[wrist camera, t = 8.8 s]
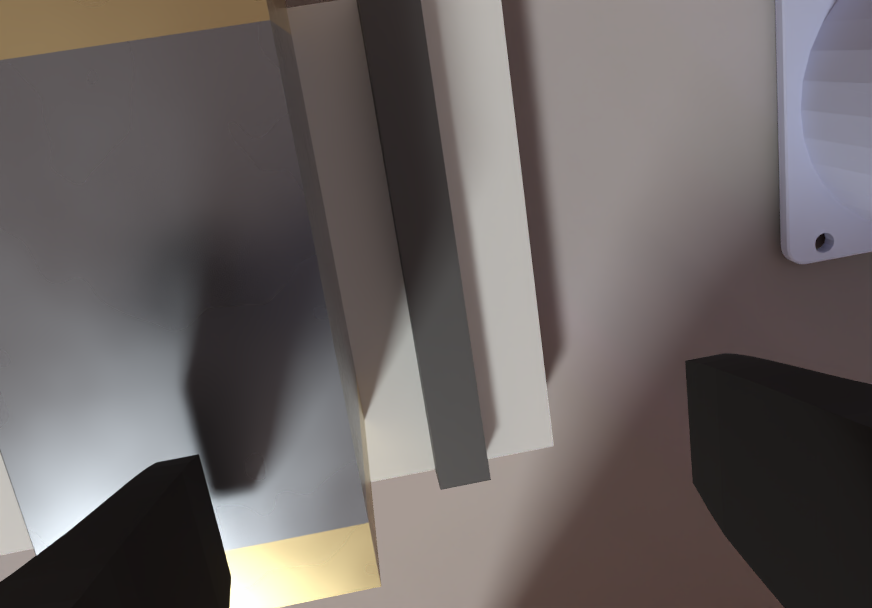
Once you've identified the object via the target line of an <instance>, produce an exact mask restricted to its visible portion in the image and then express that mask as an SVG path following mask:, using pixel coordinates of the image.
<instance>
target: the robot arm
mask: <svg viewBox="0 0 872 608" xmlns="http://www.w3.org/2000/svg"><path fill="white" fill-rule="evenodd" d="M775 10H776V54H777V98H778V142H779V187H780V231H781V249H782V253H783V255H784V256H785V257H786V259H788V260H791V261H793V262H795V263H797V264H809V263H814V262H820V261H825V260H831V259H836V258H842V257H847V256H852V255H858V254H863V253H869V252H872V0H775ZM823 233H824V234H825V242H824V244H823V245H822V246H821V247H820V248H818V249H816V247H815V241H816V239H817V237H818V236H819V235H821V234H823ZM685 363H686V379H687V396H688V412H689V428H690V444H691V461H692V477H693V484H694V485H695V487H696V489H697V491H698V492H699V494H700V496H701V497H702V499H703V501H704V503H705V504H706V506H707V508H708V510H709V511H710V513H711V514H712V516H713V518H714V519H715V521H716V522H717V524H718V526H719V527H720V529H721V530H722V532H723V533H724V535H725V536H726V537H727V539H728V540H729V541H730V542H731V544H732V545H733V546H734V547H735V549H736V550H737V551H738V552H739V554H740V555H741V556H742V557H743V558H744V560H745V561H746V562H747V563H748V564H749V566H750V567H751V568H752V569H753V571H754V572H755V573H756V574H757V575H758V577H759V578H760V579H761V580H762V581H763V583H764V584H765V585H766V586H767V587H768V588H769V590H770V591H771V592H772V593H773V594H774V596H775V597H776V598H777V599H778V600H779V602H780V603H781V604H782V605H783V606H784V608H872V385H871V384H867V383H862V382H858V381H853V380H849V379H845V378H840V377H836V376H832V375H828V374H824V373H820V372H816V371H812V370H807V369H803V368H799V367H795V366H791V365H787V364H783V363H779V362H774V361H770V360H765V359H760V358H756V357H751V356H745V355H738V354H719V355H714V356H709V357H704V358H698V359H693V360H688V361H685ZM230 593H231V573H230V569H229V566H228V562H227V558H226V554H225V551H224V547H223V543H222V539H221V535H220V532H219V528H218V524H217V520H216V517H215V513H214V509H213V505H212V501H211V498H210V494H209V490H208V486H207V483H206V479H205V475H204V471H203V467H202V464H201V460H200V456H199V454H197V455H192V456H187V457H182V458H177V459H171V460H166V461H161V462H156V463H154V464H152V465H151V466H149V467H147V468H146V469H145V470H143V471H142V472H140V473H139V474H138V475H136V476H135V477H134V478H133V479H131V480H130V481H129V482H128V483H126V484H125V485H124V486H123V487H121V488H120V489H119V490H118V491H117V492H115V493H114V494H113V495H112V496H111V497H109V498H108V499H107V500H106V501H104V502H103V503H102V504H101V505H100V506H98V507H97V508H96V509H95V510H94V511H92V512H91V513H90V514H89V515H87V516H86V517H85V518H84V519H83V520H81V521H80V522H79V523H78V524H77V525H75V526H74V527H73V528H72V529H70V530H69V531H68V532H67V533H65V534H64V535H63V536H61V537H60V538H59V539H57V540H56V541H55V542H53V543H52V544H51V545H50V546H48V547H47V548H46V549H44V550H43V551H42V552H40V553H39V554H38V555H36V556H35V557H34V558H32V559H31V560H30V561H28V562H27V563H26V564H25V565H23V566H22V567H21V568H19V569H18V570H17V571H15V572H14V573H13V574H11V575H10V576H8V577H7V578H5V579H4V580H3V581H1V582H0V608H230Z"/></svg>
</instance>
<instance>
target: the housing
mask: <svg viewBox="0 0 872 608" xmlns="http://www.w3.org/2000/svg"><path fill="white" fill-rule="evenodd" d="M0 450H1V453H2V456H3V459H4V462H5V465H6V468H7V471H8V474H9V476H10V479H11V482H12V485H13V488H14V491H15V494H16V497H17V500H18V503H19V506H20V509H21V512H22V514H23V517H24V520H25V523H26V526H27V529H28V532H29V535H30V538H31V541H32V544H33V547H34V550H35V553H36V555H38V554H39V553H40V552H42V551H43V550H44V549H46V548H47V547H48V546H50V545H51V544H52V543H53V542H55V541H56V540H57V539H59V538H60V537H61V536H63V535H64V534H65V533H67V532H68V531H69V530H70V529H72V528H73V527H74V526H75V525H77V524H78V523H79V522H80V521H81V520H83V519H84V518H85V517H86V516H87V515H89V514H90V513H91V512H92V511H94V510H95V509H96V508H97V507H98V506H100V505H101V504H102V503H103V502H104V501H106V500H107V499H108V498H109V497H111V496H112V495H113V494H114V493H115V492H117V491H118V490H119V489H120V488H121V487H123V486H124V485H125V484H126V483H128V482H129V481H130V480H131V479H133V478H134V477H135V476H136V475H138V474H139V473H140V472H142V471H143V470H145V469H146V468H147V467H149V466H151V465H152V464H154V463H156V462H161V461H166V460H171V459H177V458H182V457H187V456H192V455H197V454H199V456H200V460H201V464H202V467H203V471H204V475H205V479H206V483H207V486H208V490H209V494H210V498H211V501H212V505H213V509H214V513H215V517H216V520H217V524H218V528H219V532H220V535H221V539H222V543H223V547H224V551H225V554H226V558H227V562H228V566H229V569H230V573H231V593H230V608H278V607H283V606H288V605H293V604H298V603H302V602H307V601H312V600H317V599H322V598H327V597H332V596H337V595H342V594H346V593H351V592H356V591H361V590H366V589H371V588H376V587H381V580H380V570H379V560H378V550H377V540H376V530H375V520H374V510H373V500H372V490H371V480H370V470H369V460H368V450H367V440H366V430H365V420H364V414H363V409H362V404H361V399H360V393H359V388H358V383H357V377H356V372H355V367H354V362H353V356H352V351H351V346H350V341H349V335H348V330H347V325H346V319H345V314H344V309H343V304H342V298H341V293H340V288H339V283H338V277H337V272H336V267H335V261H334V256H333V251H332V246H331V240H330V235H329V230H328V225H327V219H326V214H325V209H324V203H323V198H322V193H321V188H320V182H319V177H318V172H317V167H316V161H315V156H314V151H313V145H312V140H311V135H310V130H309V124H308V119H307V114H306V109H305V103H304V98H303V93H302V87H301V82H300V77H299V72H298V66H297V61H296V56H295V51H294V45H293V40H292V35H291V29H290V24H289V19H288V14H287V8H286V3H285V0H0Z"/></svg>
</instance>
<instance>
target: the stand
mask: <svg viewBox="0 0 872 608" xmlns="http://www.w3.org/2000/svg"><path fill="white" fill-rule="evenodd" d="M287 14H288V19H289V24H290V29H291V35H292V40H293V45H294V51H295V56H296V61H297V66H298V72H299V77H300V82H301V87H302V93H303V98H304V103H305V109H306V114H307V119H308V124H309V130H310V135H311V140H312V145H313V151H314V156H315V161H316V167H317V172H318V177H319V182H320V188H321V193H322V198H323V203H324V209H325V214H326V219H327V225H328V230H329V235H330V240H331V246H332V251H333V256H334V261H335V267H336V272H337V277H338V283H339V288H340V293H341V298H342V304H343V309H344V314H345V319H346V325H347V330H348V335H349V341H350V346H351V351H352V356H353V362H354V367H355V372H356V377H357V383H358V388H359V393H360V399H361V404H362V409H363V414H364V420H365V430H366V440H367V450H368V460H369V470H370V480H371V482H374V481H379V480H384V479H390V478H395V477H400V476H405V475H410V474H415V473H420V472H425V471H430V470H436V474H437V478H438V482H439V485H440V489H441V490H442V489H447V488H452V487H457V486H462V485H467V484H472V483H477V482H482V481H487V480H491V479H490V472H489V465H488V459H491V458H496V457H501V456H506V455H511V454H516V453H521V452H526V451H531V450H537V449H542V448H547V447H552V446H554V444H553V436H552V427H551V419H550V410H549V402H548V393H547V385H546V376H545V368H544V359H543V351H542V342H541V334H540V325H539V317H538V308H537V300H536V292H535V283H534V275H533V266H532V258H531V249H530V241H529V232H528V224H527V215H526V207H525V198H524V190H523V181H522V173H521V164H520V156H519V147H518V139H517V130H516V122H515V113H514V105H513V96H512V88H511V79H510V71H509V62H508V54H507V46H506V37H505V29H504V20H503V12H502V3H501V0H335V1H329V2H322V3H316V4H309V5H302V6H296V7H289V8H287ZM30 549H34V547H33V544H32V541H31V538H30V535H29V532H28V529H27V526H26V523H25V520H24V517H23V514H22V512H21V509H20V506H19V503H18V500H17V497H16V494H15V491H14V488H13V485H12V482H11V479H10V476H9V474H8V471H7V468H6V465H5V462H4V459H3V456H2V453H1V450H0V555H4V554H9V553H15V552H20V551H25V550H30ZM34 551H35V550H34ZM35 554H36V553H35Z"/></svg>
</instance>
